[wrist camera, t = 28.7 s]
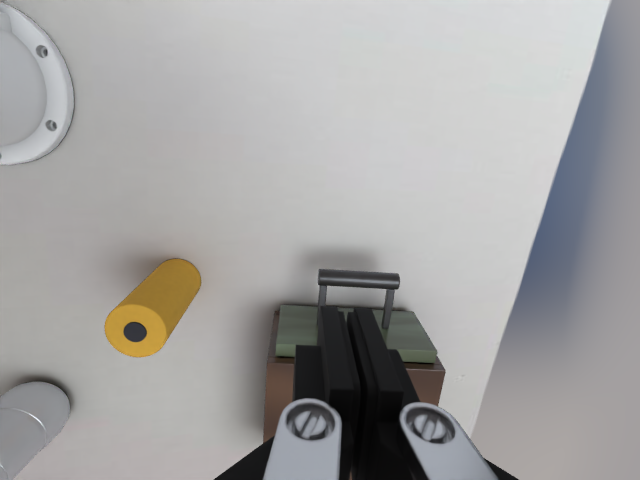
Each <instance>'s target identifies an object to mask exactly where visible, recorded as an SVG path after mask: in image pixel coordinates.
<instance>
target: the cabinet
mask: <svg viewBox="0 0 640 480" xmlns="http://www.w3.org/2000/svg"><path fill="white" fill-rule="evenodd" d="M279 316H280V311H275V314H274V320H273V327H272V333H271V340H270V346H269V353H268V360H267V373H266V394H265V415H264V436H263V443H265V442H266V441H267V440H269V439H270V438H271V437H273V436H274V435H275V433H276V430H277V426H278V423H279V419H280V416H281V414H282V412H283V410H284V408H286V407H287V406H288V405H289V404H290V403H292V395H293V375H294V361H295V358H284V356H275V354H276V340H277V332H278V324H279ZM417 363H418V364H411V363H404V365H405V367H406V370H407V372H408V374H409V377H410V379H411V381H412V383H413V386H414V388H415V390H416V393H417V395H418V397H419V399H420V402H423V403H429V404H433V405H436V406H438V403H439V399H440V394H441V390H442V385H443V380H444V376H445V369H444V367H443V365H442V364H441V362H440V360H439V359H438V357H437V355H436V360H435V363H421V362H417ZM349 480H352V476H351V472H350V479H349Z"/></svg>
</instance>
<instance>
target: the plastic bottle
mask: <svg viewBox="0 0 640 480" xmlns="http://www.w3.org/2000/svg"><path fill="white" fill-rule="evenodd" d="M69 414H70V404H69V400H68V398H67V396H66V394H65V393H64V392H63V391H62V390H61V389H60V388H58V387H57V386H55V385H52V384H50V383H46V382H40V381H38V382H29V383H24V384H20V385H18V386H16V387H14V388H13V389H11V390H10V391H8V392H7V393H5V394H4V395H2V396H1V397H0V480H13V479H14V478H15V477H16V476H17V475H18V473H19V472H20V471H21V470H22V469H23V468H24V467H25V466H26V465H27V464H28V463H29V462H30V461H31V460H32V458H33V457H34V456H35V455H36V454H37V453H38V452H40V451H41V450H42V449H43V448H44V447H46V446H47V445H48V444H49V443H50V442H51V441H52V440H53V439H54V438H55V437H56V436H57V435H58V434H59V433H60V432H61V430H62V428H63V427H64V425H65V423H66V421H67V419H68V417H69Z"/></svg>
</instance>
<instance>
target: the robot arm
mask: <svg viewBox="0 0 640 480" xmlns="http://www.w3.org/2000/svg"><path fill="white" fill-rule="evenodd" d="M47 51H48V55H47ZM73 109H74V92H73V87H72V82H71V77H70V74H69V71H68V69H67V66H66V64H65V61H64V59H63V57H62V56H61V54H60V52H59V50H58V49H57V47H56V45H55V44H54V43H53V41H52V40H51V39H50V38H49V36H48V35H47V34H46V33H45V31H44V30H42V29H41V28H40V27H39V26H38V25H37V24H36V23H35V22H34V21H33V20H32V19H31V18H29V17H28V16H26V15H25V14H23V13H22V12H20V11H19V10H17V9H16V8H14V7H11V6H9V5H7V4H5V3H3V2H1V1H0V165H12V164H21V163H26V162H30V161H33V160H37V159H39V158H41V157H43V156H45V155H46V154H48V153H50V152H51V151H52V150H53V149H54V148H55V147H56V146H58V145H59V143H60V142H61V140H62V139H63V138H64V136H65V135H66V133H67V131H68V128H69V126H70V123H71V120H72V115H73ZM56 125H57V127H56ZM350 472H351V476H352V480H518V479H517V478H515V477H514V476H512V475H510V474H509V473H507V472H506V471H504V470H502V469H501V468H499V467H497V466H496V465H494V464H492V463H491V462H489V461H488V460H486V459H485V458H483V457H482V455H481V454H480V452H479V451H478V450H477V448H476V447H475V445H474V444H473V443H472V441H471V440H470V438H469V437H468V436H467V434H466V433H465V431H464V430H463V429H462V427H461V426H460V424H459V423H458V422H457V421H456V419H455V418H454V417H453V416H452V415H451V414H450V413H448V412H447V411H445V410H444V409H442V408H440V407H438V406H436V405H433V404H429V403H423V402H420V399H419V397H418V395H417V393H416V390H415V388H414V386H413V383H412V381H411V379H410V377H409V374H408V372H407V370H406V367H405V365H404V363H403V360H402V358H401V356H400V354H399V352H398V350H396V349H387V347H386V344H385V342H384V339H383V336H382V334H381V331H380V329H379V326H378V324H377V321H376V318H375V316H374V313H373V311H372V309H371V308H354V310H353V312H348V314H347V321H346V320H345V315H344V311H338V307H334V306H320V314H319V324H318V335H317V346H316V345H296V348H295V361H294V375H293V395H292V403H290V404H289V405H288V406H287V407H286V408H284V410H283V412H282V414H281V416H280V419H279V423H278V426H277V430H276V433H275V435H274V436H273V437H271V438H270V439H269V440H267V441H266V442H265V443H263V444H262V445H261V446H259V447H258V448H256V449H255V450H254V451H252V452H251V453H250V454H248V455H247V456H245V457H244V458H243V459H241V460H240V461H239V462H237V463H236V464H234V465H233V466H232V467H230V468H229V469H228V470H226V471H225V472H223V473H222V474H221V475H219V476H218V477H217V478H215V479H214V480H349V479H350Z"/></svg>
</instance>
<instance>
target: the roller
mask: <svg viewBox="0 0 640 480" xmlns="http://www.w3.org/2000/svg"><path fill="white" fill-rule="evenodd" d="M200 286H201V277H200V274H199V272H198V270H197V269H196V268H195V266H193V265H192V264H191V263H189V262H187V261H185V260H182V259H170V260H167V261H165V262H163V263H162V264H161V265H160V266H159V267H158V268H156V269H155V270H154V271H153V272H152V273H151V274H150V275H149V276H148V277H147V278H146V279H145V280H144V281H143V282H142V283H141V284H140V285H139V286H138V287H137V288H136V289H134V290H133V291H132V292H131V293H130V294H129V295H128V296H127V297H126V298H125V299H124V300H123V301H122V302H121V303H120V304H119V305H118V306H117V307H116V308H115V309H114V310H113V311H112V312H111V313H110V314H109V315H108V317H107V319H106V322H105V334H106V337H107V339H108V341H109V342H110V344H111V345H112V346H113V347H114V348H115V349H116V350H118V351H119V352H121V353H123V354H125V355H128V356H132V357H146V356H150V355H152V354H154V353H156V352H157V351H159V350H160V349H161V348H162V347H163V345H164V344H165V342H166V341H167V339H168V338H169V336H170V334H171V333H172V331H173V330H174V328H175V327H176V325H177V324H178V322H179V320H180V319H181V317H182V316H183V314H184V313H185V311H186V310H187V308H188V306H189V305H190V303H191V302H192V300H193V299H194V297H195V296H196V294H197V292H198V291H199V289H200Z"/></svg>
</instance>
